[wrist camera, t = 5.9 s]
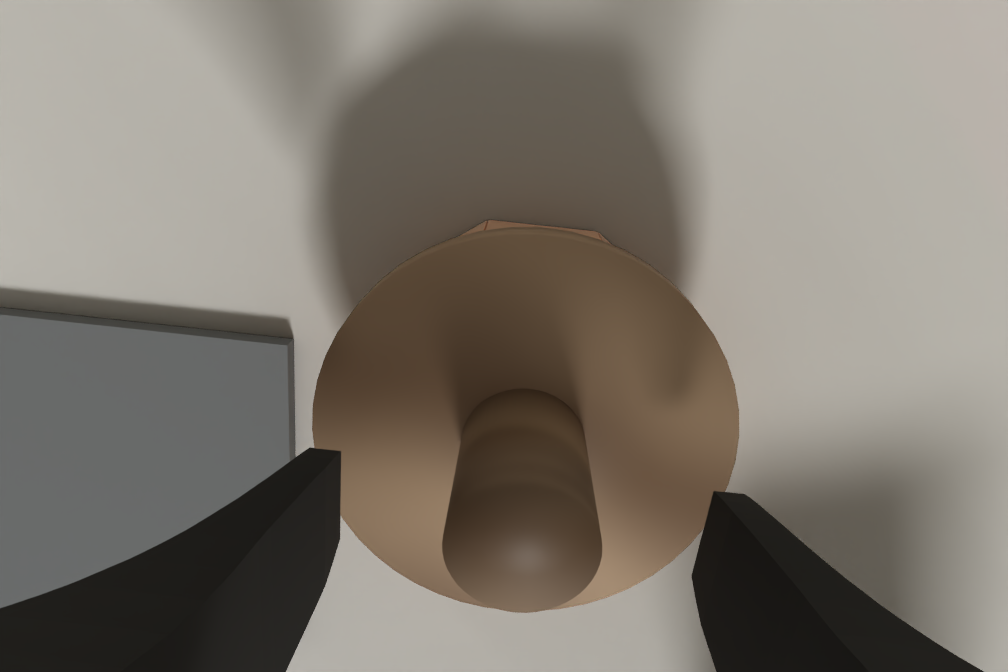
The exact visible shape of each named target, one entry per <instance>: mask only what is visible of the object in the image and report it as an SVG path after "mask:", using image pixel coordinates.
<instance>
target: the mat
mask: <svg viewBox="0 0 1008 672" xmlns="http://www.w3.org/2000/svg"><path fill="white" fill-rule="evenodd" d="M294 458H295V399H294V339H290V338H280V337H271V336H262V335H252V334H243V333H234V332H225V331H215V330H206V329H197V328H187V327H178V326H169V325H160V324H150V323H141V322H132V321H122V320H113V319H104V318H95V317H85V316H76V315H67V314H57V313H48V312H39V311H30V310H20V309H11V308H2V307H0V608H2V607H6V606H9V605H12V604H14V603H17V602H20V601H23V600H26V599H29V598H32V597H35V596H38V595H41V594H44V593H47V592H49V591H52V590H55V589H58V588H60V587H63V586H66V585H68V584H71V583H74V582H76V581H79V580H81V579H83V578H86V577H88V576H90V575H93V574H95V573H97V572H100V571H102V570H104V569H107V568H109V567H111V566H114V565H116V564H118V563H121V562H123V561H125V560H128V559H130V558H132V557H134V556H136V555H139V554H141V553H143V552H145V551H147V550H149V549H151V548H153V547H155V546H157V545H159V544H161V543H163V542H165V541H167V540H169V539H170V538H172V537H174V536H176V535H178V534H180V533H181V532H183V531H185V530H187V529H189V528H190V527H192V526H194V525H196V524H197V523H199V522H200V521H202V520H204V519H205V518H207V517H208V516H210V515H212V514H213V513H215V512H216V511H218V510H220V509H221V508H223V507H225V506H226V505H228V504H229V503H231V502H233V501H234V500H236V499H237V498H239V497H240V496H242V495H243V494H245V493H246V492H248V491H249V490H250V489H252V488H253V487H255V486H256V485H258V484H259V483H261V482H262V481H263V480H265V479H266V478H268V477H269V476H271V475H272V474H273V473H275V472H276V471H278V470H279V469H280V468H282V467H283V466H284V465H286V464H287V463H289V462H290V461H291V460H293V459H294Z"/></svg>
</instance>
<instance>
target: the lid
mask: <svg viewBox="0 0 1008 672" xmlns="http://www.w3.org/2000/svg"><path fill="white" fill-rule="evenodd" d="M312 431H313V439H314V447H315V448H317V449H327V450H336V451H341V501H340V515H341V516H342V518H343V520H344V521H345V522H346V523H347V525H348V526H349V527H350V529H351V530H352V531H353V532H354V534H355V535H356V536H357V537H358V539H359V540H360V541H361V542H362V543H363V544H364V545H365V546H366V547H367V548H368V549H369V550H370V551H371V552H372V553H373V554H374V555H376V556H377V557H378V558H379V559H381V560H382V561H383V562H384V563H386V564H387V565H388V566H390V567H391V568H392V569H393V570H395V571H396V572H398V573H400V574H401V575H403V576H405V577H406V578H408V579H409V580H411V581H413V582H414V583H416V584H418V585H420V586H423V587H425V588H427V589H429V590H431V591H433V592H435V593H437V594H440V595H443V596H446V597H449V598H452V599H455V600H458V601H460V602H465V603H469V604H473V605H477V606H482V607H487V608H495V609H500V610H504V611H510V612H523V613H528V612H538V611H543V610H552V609H562V608H567V607H572V606H578V605H583V604H587V603H590V602H593V601H597V600H600V599H603V598H607V597H609V596H612V595H614V594H617V593H619V592H621V591H624V590H626V589H628V588H631V587H632V586H634V585H636V584H638V583H640V582H641V581H643V580H645V579H647V578H649V577H650V576H652V575H653V574H655V573H656V572H658V571H659V570H660V569H662V568H663V567H665V566H666V565H667V564H669V563H670V562H671V561H673V560H674V559H675V558H676V557H677V556H678V555H679V554H680V553H681V552H682V551H683V550H684V549H686V548H687V547H688V546H689V545H690V544H691V543H692V541H693V540H694V539H695V538H696V537H697V535H698V534H699V533H700V532H701V531H702V529H703V528H704V526H705V522H706V518H707V514H708V510H709V506H710V503H711V499H712V495H713V491H719V492H725V490H726V488H727V486H728V484H729V480H730V477H731V474H732V470H733V467H734V463H735V460H736V453H737V446H738V439H739V408H738V402H737V396H736V390H735V384H734V381H733V378H732V375H731V372H730V369H729V366H728V363H727V360H726V358H725V356H724V354H723V352H722V350H721V348H720V346H719V344H718V342H717V340H716V338H715V336H714V334H713V333H712V332H711V330H710V329H709V327H708V326H707V325H706V323H705V322H704V320H703V319H702V317H701V316H700V315H699V313H698V312H697V311H696V309H695V308H694V307H693V305H692V304H691V303H690V301H689V300H688V299H687V298H686V297H685V296H684V295H683V294H682V293H681V292H680V291H679V290H678V289H677V288H676V287H675V286H674V284H673V283H672V282H671V281H669V280H668V279H667V278H666V277H664V276H663V275H662V274H660V273H659V272H658V271H657V270H655V269H654V268H653V267H652V266H650V265H649V264H647V263H646V262H644V261H642V260H641V259H639V258H637V257H636V256H634V255H632V254H630V253H629V252H627V251H625V250H623V249H621V248H619V247H616V246H614V245H611V244H609V243H607V242H604V241H602V240H600V239H597V238H593V237H589V236H586V235H582V234H578V233H575V232H571V231H565V230H558V229H550V228H543V227H507V228H499V229H491V230H483V231H478V232H474V233H471V234H467V235H463V236H459V237H455V238H452V239H450V240H447V241H445V242H442V243H440V244H438V245H435V246H433V247H430V248H428V249H426V250H424V251H422V252H421V253H419V254H417V255H415V256H414V257H412V258H410V259H408V260H407V261H405V262H403V263H402V264H400V265H399V266H398V267H397V268H395V269H394V270H393V271H391V272H390V273H389V274H388V275H386V276H385V277H384V278H383V279H381V280H380V281H379V282H378V283H377V284H376V285H375V286H374V287H373V288H372V289H371V291H370V292H369V293H368V294H367V295H366V296H365V297H364V298H363V299H362V300H361V301H360V303H359V304H358V305H357V306H356V308H355V309H354V310H353V312H352V313H351V314H350V316H349V317H348V319H347V320H346V321H345V323H344V324H343V326H342V327H341V328H340V330H339V331H338V332H337V334H336V336H335V338H334V340H333V342H332V344H331V346H330V348H329V350H328V352H327V354H326V356H325V359H324V362H323V365H322V368H321V371H320V374H319V377H318V380H317V385H316V390H315V396H314V402H313V423H312Z"/></svg>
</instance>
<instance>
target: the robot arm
mask: <svg viewBox="0 0 1008 672" xmlns="http://www.w3.org/2000/svg"><path fill="white" fill-rule="evenodd" d="M340 501H341V451H336V450H327V449H317V448H309V449H307V450H306V451H304V452H303V453H301V454H300V455H298V456H297V457H296V458H294V459H293V460H291V461H290V462H289V463H287V464H286V465H284V466H283V467H282V468H280V469H279V470H278V471H276V472H275V473H273V474H272V475H271V476H269V477H268V478H266V479H265V480H263V481H262V482H261V483H259V484H258V485H256V486H255V487H253V488H252V489H250V490H249V491H248V492H246V493H245V494H243V495H242V496H240V497H239V498H237V499H236V500H234V501H233V502H231V503H229V504H228V505H226V506H225V507H223V508H221V509H220V510H218V511H216V512H215V513H213V514H212V515H210V516H208V517H207V518H205V519H204V520H202V521H200V522H199V523H197V524H196V525H194V526H192V527H190V528H189V529H187V530H185V531H183V532H181V533H180V534H178V535H176V536H174V537H172V538H170V539H169V540H167V541H165V542H163V543H161V544H159V545H157V546H155V547H153V548H151V549H149V550H147V551H145V552H143V553H141V554H139V555H136V556H134V557H132V558H130V559H128V560H125V561H123V562H121V563H118V564H116V565H114V566H111V567H109V568H107V569H104V570H102V571H100V572H97V573H95V574H93V575H90V576H88V577H86V578H83V579H81V580H79V581H76V582H74V583H71V584H68V585H66V586H63V587H60V588H58V589H55V590H52V591H49V592H47V593H44V594H41V595H38V596H35V597H32V598H29V599H26V600H23V601H20V602H17V603H14V604H12V605H9V606H6V607H2V608H0V672H286V670H287V668H288V665H289V663H290V661H291V659H292V657H293V655H294V653H295V650H296V648H297V646H298V644H299V642H300V640H301V638H302V635H303V633H304V631H305V629H306V627H307V625H308V622H309V620H310V618H311V616H312V614H313V611H314V609H315V607H316V605H317V603H318V601H319V598H320V596H321V594H322V592H323V589H324V587H325V585H326V582H327V578H328V575H329V572H330V569H331V566H332V563H333V560H334V557H335V553H336V550H337V547H338V543H339V540H340ZM692 581H693V586H694V592H695V597H696V603H697V608H698V612H699V617H700V622H701V626H702V629H703V632H704V635H705V639H706V642H707V645H708V648H709V651H710V653H711V656H712V659H713V662H714V665H715V668H716V671H717V672H983V671H982V670H980V669H978V668H977V667H975V666H973V665H971V664H970V663H968V662H966V661H965V660H963V659H961V658H959V657H958V656H956V655H954V654H953V653H951V652H950V651H948V650H946V649H945V648H943V647H942V646H940V645H938V644H937V643H935V642H934V641H932V640H931V639H929V638H928V637H926V636H925V635H923V634H922V633H920V632H919V631H917V630H916V629H914V628H913V627H911V626H910V625H908V624H907V623H905V622H904V621H902V620H901V619H899V618H898V617H896V616H895V615H894V614H892V613H891V612H889V611H888V610H887V609H885V608H884V607H882V606H881V605H880V604H878V603H877V602H876V601H874V600H873V599H872V598H870V597H869V596H868V595H866V594H865V593H864V592H863V591H861V590H860V589H859V588H857V587H856V586H855V585H853V584H852V583H851V582H850V581H848V580H847V579H846V578H844V577H843V576H842V575H841V574H840V573H838V572H837V571H836V570H835V569H833V568H832V567H831V566H830V565H828V564H827V563H826V562H825V561H824V560H822V559H821V558H820V557H819V556H818V555H817V554H815V553H814V552H813V551H812V550H811V549H809V548H808V547H807V546H806V545H805V544H804V543H802V542H801V541H800V540H799V539H798V538H797V537H796V536H794V535H793V534H792V533H791V532H790V531H789V530H787V529H786V528H785V527H784V526H783V525H782V524H781V523H779V522H778V521H777V520H776V519H775V518H774V517H773V516H771V515H770V514H769V513H768V512H767V511H766V510H764V509H763V508H762V507H761V506H760V505H758V504H757V503H756V502H755V501H753V500H752V499H751V498H749V497H748V496H747V495H745V494H738V493H728V492H719V491H713V495H712V499H711V503H710V506H709V510H708V514H707V518H706V522H705V526H704V530H703V534H702V538H701V542H700V545H699V549H698V553H697V557H696V561H695V565H694V569H693V573H692Z"/></svg>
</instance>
